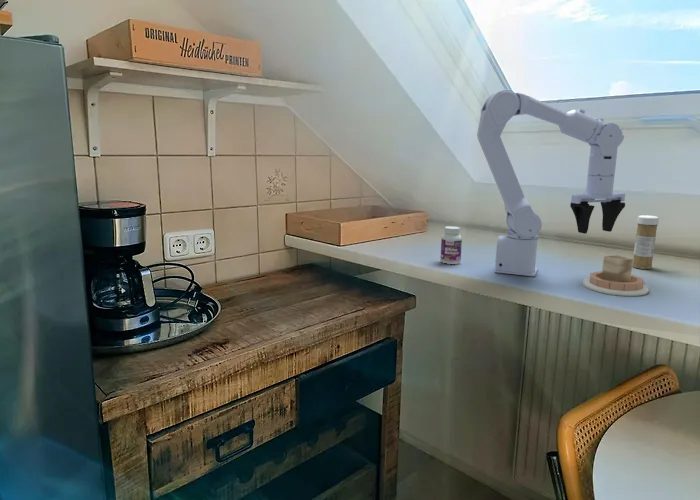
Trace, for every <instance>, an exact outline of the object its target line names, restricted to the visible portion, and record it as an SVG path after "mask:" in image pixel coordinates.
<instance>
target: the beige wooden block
mask: <svg viewBox="0 0 700 500" xmlns="http://www.w3.org/2000/svg"><path fill="white" fill-rule="evenodd" d="M602 263H603V265H602V270H601V271H602V279H603V280H608V281H613V282H622V283H624V282H630V280H631V275H632V272H633V266H632V264H633V258H630V257H627V256H622V255H619V254H615V255H607V256H603V262H602Z"/></svg>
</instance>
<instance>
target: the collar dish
mask: <svg viewBox="0 0 700 500" xmlns="http://www.w3.org/2000/svg"><path fill="white" fill-rule="evenodd" d="M582 285H583V286H584V287H585V288H586V289H588V290H591V291H594V292H597V293H600V294H606V295H611V296H619V297H620V296H621V297H639V296H640V297H641V296H645V295H648V294H649V292H650V286H648V285H647V284H646V283H644V279H643V278H642V277H640V276H637V275H634V274H631V280H630V282H624V283H622V282H613V281H608V280H603V279H602V270H601V271H594V272H590V274H589V276H587V277H585V278H584V279H583V281H582Z"/></svg>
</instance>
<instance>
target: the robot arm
mask: <svg viewBox="0 0 700 500" xmlns="http://www.w3.org/2000/svg"><path fill="white" fill-rule="evenodd" d="M521 115H522V116H523V115H527V116H531V117H533V118H536V119H539V120H542V121H545V122H548V123H550V124H554V125H556V126H558V127H559V129H560V132H561V133H562V134H563V135H565V136H568V137H571V138H574V139H576V140H579V141H581V142H583V143H586V144H588V145H589V146H590V150H589V151H590V152H589V158H588V159H589V160H588V168H587V169H588V171H587V175H586V177H587V179H586V188H585V193H578V194H577V193H576V194H571V200H570V203H569V204H570V208H571V210H572V212H573V215H574V218H575V222H576V228H577V232H578V233H580V234H585V235H586V234H587V233H588V231H589V226H590V225H589V224H590V219H591V216H592V213H593V211H594V209H595V207H596V206H595V205H591V204H590V203H600V206H601V211H602V219H601V220H602V223H601V226H602V231H603V232H604V231H605V232H612V231H613V228H614V226H615V224H616V222H617V218H619V216H620V214H621V212H622V211H623V209H625V207H626V202H625V199H626V198H625V197H626V193H625V192H613V190H614V183H615V173H616V166H617V165H616V164H617V158H618V157H617V156H618V148H619V146H621V144H622V143H623V141H624V138H625V135H624V134H623V131H622V128H620V126H619V124H617V123H613V122H609V123H606V122H605V119H604V118H603V117H598V118H596V117H594V116H592V115H589V114H586V110H584V109H581V108H578V109H577V110H576V109H572V110H570V111H567V112H566V111H563V110H561V109H558V108H557V107H554V106H552V105H550V104H548V103H545V102H543V101H541V100H540V99H536V98H534V97H532V96H529V95H527V94H524V93H521V92H515V91H514V90H511V89H501V90H499V91H498V92H496V93H493V94H491V95H489V96H488V98H487V99H486V100H485V102H484V104H483V105H482V107H481V109H480V116H479V117H480V118H479V122H478V126H477V127H478V128H477V133H476V137H477V140H478V143H479V145H480V148H481V150H482V152H483V155H484V157H485V159H486V162H487V165H488V167H489V169H490V171H491V173H492V176H493V179H494V182H495V184H496V186H497V189H498V190H499V194H500V196H501V199H502V201H503V203H504V205H503V206H504V210H505V213H506V220H505V221H506V225H507V227H508V228H509V230H508V232H507V233H506V235H499V236H498V238H497V241H496V249H495V251H496V252H495V253H496V254H495V261H494V262H495V266H494V267H495V268H494V273H498V274H508V275H509V274H510V275H517V276H525V277H536V274H537V273H538V270H539V267H537V266H536V264H537V263H536V262H537V250H538V249H537V248H538V237H539V235H538V234H539V233H540V231H541V229H542V226H543V225H542V219H541V218H540V216H539V215H538V214H537V213H535V212H534V210H533V209H532V207H531V206H532V205H530V203H529V201H528V200H527V198H526V197H525V194H524V192H523V189H522V187H521V184H520V183H519V180H518V178H517V174H516V173H515V169H514V166H513V165H512V163H511V160H510V157H509V155H508V153H507V150H506V148H505V145H504V142H503V140H502V137H501V136H502V133H503V131H504V129H505V127H506V125H507V123H508V122H509V121H510V120H511V119H512V118H513V117H514V116H521Z"/></svg>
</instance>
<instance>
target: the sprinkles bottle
mask: <svg viewBox="0 0 700 500" xmlns="http://www.w3.org/2000/svg"><path fill="white" fill-rule="evenodd" d="M659 219H660V218H659V217H658V216H656V215H650V214H649V215H647V214H643V215H638V216H637V222H636V223H637V228H636V236H635V242H634V248H633V258H632V259H633V264H632V268H635V269H640V270H651V269H652V268H653V259H654V252H655V247H656V239H657V230H658V229H657V228H658V225H659Z"/></svg>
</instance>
